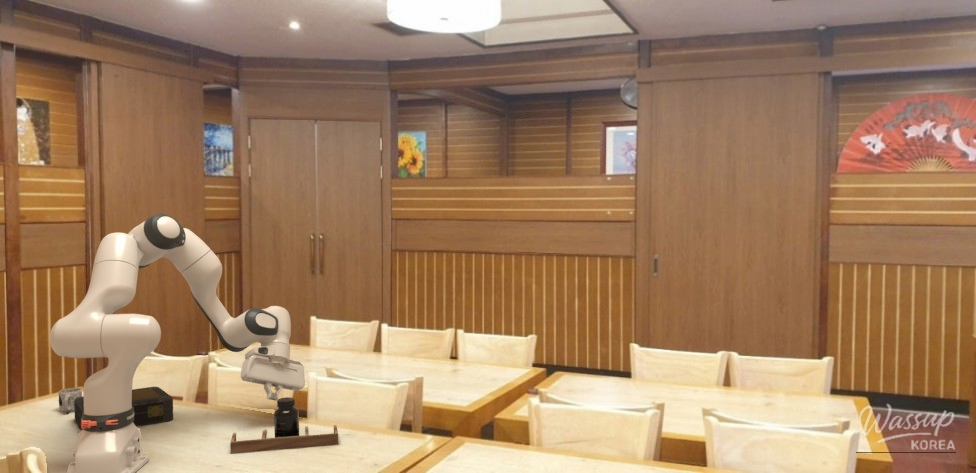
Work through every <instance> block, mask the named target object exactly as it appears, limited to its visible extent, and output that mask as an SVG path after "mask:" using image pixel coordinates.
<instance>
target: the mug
mask: <svg viewBox="0 0 976 473" xmlns="http://www.w3.org/2000/svg"><path fill="white" fill-rule="evenodd" d="M82 389H83V388H81V387H69V388H63V389H60V390H58V412H59V413H60V414H61V413H62V414H69V413H71V414H72V413H75V411H74V400H75V399H76V398H78V397H83V390H82Z"/></svg>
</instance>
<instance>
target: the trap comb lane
mask: <svg viewBox="0 0 976 473" xmlns="http://www.w3.org/2000/svg"><path fill="white" fill-rule="evenodd" d="M267 432H268V430H267V429H263V430H262V434H261V438H258V439H248V440H247V439H246V440H237V432H233V433H232V436H231V440H230V443H229V444H230V454H231V455H232V454H241V453H242V454H243V453H245V454H246V453H254V452H255V451H257V452H266V451H267V452H268V451H278V450H291V449H292V450H293V449H302V448H315V447H328V446H339V431H338V426H337V424H334V425H333V432H332V433H322V434H321V433H320V434H311V435H310V433H309V426H307V425H306V426H305V427H304V432H305V433H304V434H305V435H304V434H303V435H299V436H290V437H278V438H275V437H267Z"/></svg>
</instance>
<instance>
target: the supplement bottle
mask: <svg viewBox="0 0 976 473" xmlns="http://www.w3.org/2000/svg"><path fill="white" fill-rule="evenodd" d="M276 404H277V405H276V407H277V408H276V409H275V410H274V413H273V421H274V422H273V424H274V425H273V426H274V431H273V432H274V438H278V437H290V436H300V415H299V414H300V412H299V409H298V408H297V407H295V406H296V402H295V398H294V397H281V398H278V400H276Z"/></svg>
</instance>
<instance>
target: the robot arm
mask: <svg viewBox="0 0 976 473" xmlns="http://www.w3.org/2000/svg"><path fill="white" fill-rule="evenodd" d="M162 258H165V259H167V260H168V261H170V262H171V263H172V265H174V267H175V268H176V270H177V271H178V272H179V273H180V274H181V275H182V276H183V278H184V279H185V281H186V282H187V284H188V287H189V288H190V294H191V296H192V298H193V299H194V301H195V304H196V305H197V306H198V307H199V309H200V310H201V312H202V314H204V316H205V317H206V320H207V321H208V322H209V323H210V324H211V326H212V328H213V329H214V330H215V332H216V335H217V337H218V340H219V341H220V344H221V345H222V346H223V347H224V348H225V349H227V351H230V352H231V353H232V352H234V353H241V352H242V351H244V350H246V349H247V348H248V347H249V346H251V345H253V344H255V343H260V346H256V347H254V348H251V349H250V350H248V351H247V352H246V353H245V354H244V360H243V362H242V366H241V371H240V378H241V380H242V381H243V382H247V383H252V384H258V385H263V389H264V392H265V393H266V399H267V400H269V401H276V402H277V400H278V399H279V394H280V393H281V392H282V390H283V389H284V390H289V391H295V392H298V391H301V390H302V389H304V387H305V385H306V383H305V382H306V379H305V366H304V365H303V364H302V363H301V361H296V360H293V359H290V356H291V354H290V353H291V345H290V338H291V337H292V336H291V333H292V332H291V331H292V323H291V322H292V320H291V315H290V313H289V311H288V310H287V309H286V308H285V307H282V306H280V305H271V306H268V307H267V308H258V307H254V308H253V307H252V308H250V309H248V310H246V311H244V312H243V313H241V314H239V315H238V316H237V317H232V316H231V315H230V314H229V311H228V310H227V309H226V308H225V306H224V305H223V303H222V302H221V301H220V299H219V297H218V295H217V294H218V293H217V288H218V285H219V282H220V281H221V279H222V278H221V277H222V275H223V264H222V262H221V260H220V259H219V257H218V256H217V255H216V254H215V253H214V251H213V250H212V249H211V248H210V247H209V246H208V244H207V243H206V242H204V241H203V240H202V238H200V237H199V236H197V235H196V233H194V232H193V231H192V230H191V229H189V228H185V227H183V226H182V224H181V223H180V222H179V221H178V220H177V219H176V218H174V217H173V216H171V215H169V214H168V213H167V214H166V213H158V214H154V215H152V216H149V217H148V218H147V219H146V220H144V221H142V222H141V223H140V224H138V225H136V226H135V227H134V228H133V229H131V230H129V232H128V233H125V232H111V233H108V234H106V236H104V237H103V238H102V240H101V241H100V243H99V245H98V248H97V251H96V254H95V257H94V261H93V267H92V272H91V276H90V277H91V278H90V282H89V286H88V289H87V291H86V294H85V297H84V298H83V299H82V301H81V302H80V304H78V306H77V307H76V308H74V310H72V311H71V312H70V313H68V314H67V315H65V316H64V317H62V318H59V319H58V320H57V321H56V322H55V323H54V324H53V326H52V328H51V330H50V332H49V343H50V344H49V345H50V347H51V349H52V350H53V352H54V353H55V354H56V355H57V356H58V357H63V358H72V359H97V358H98V359H99V358H105V359H106V358H108V364H107V366H106V367H104V368H103V369H101V370H99V371H97V372H95V373H92V374H91V375H90V376H89V377H87V379H86V380H85V381H84V384H83V388H82V389H83V390H82V393H83V396H84V412H83V413H82V419H81V428H82V429H83V430H81V431H79V432H78V434H77V444H76V450H75V452H73V458H74V461H70V463H68V467H67V471H66V473H136V472H138V470H140V469H141V468H143V466H145V465H146V464H147V463H148V462H149V461H150V459H149V458H150V457H149V456H148V455H146V454H143V447H142V446H143V445H142V433H141V429H140V428H139V427H136V426H135V424H134V423H133V421H134V408H133V407H132V390H133V381H134V377H135V374H136V371H137V368H138V367H139V366H140V364H141V363H142V362H143V360H144V359H145V358H146V357H147V356H148V355H150V354H151V353H152V352H153V351H155V350H156V348H157V347H158V345H159V344H160V341H161V338H162V330H161V326H160V324H159V322H158V321H157V320H156V318H155V317H153V316H152V315H146V314H142V313H141V314H140V313H139V314H138V313H114V312H116V311H117V310H120V309H121V308H124V307H125V306H128V305H129V304H130V303H131V302H132V301H133V300H134V298H135V296H136V291H137V286H138V285H137V283H138V274H139V270H141V269H143V268H146V267H149V266H150V265H151V264H152V263H155V261H157V260H159V259H162ZM271 387H273V388H274V390H275V392H274V391H272V389H271Z"/></svg>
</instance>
